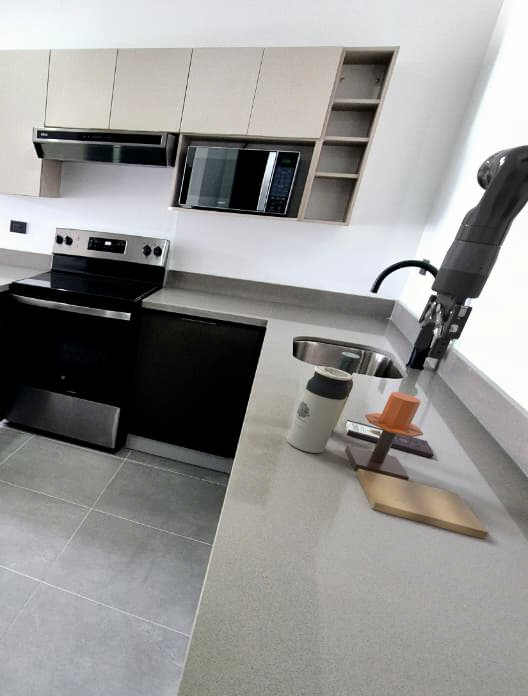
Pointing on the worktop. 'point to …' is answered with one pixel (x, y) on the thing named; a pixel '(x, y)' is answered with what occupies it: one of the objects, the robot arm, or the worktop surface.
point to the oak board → (420, 503)
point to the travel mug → (319, 409)
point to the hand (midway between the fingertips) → (426, 352)
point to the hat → (398, 415)
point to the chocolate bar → (399, 442)
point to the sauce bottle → (347, 365)
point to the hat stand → (377, 458)
